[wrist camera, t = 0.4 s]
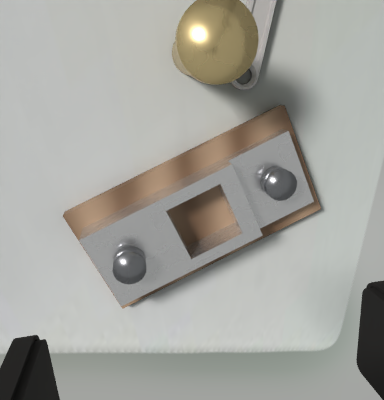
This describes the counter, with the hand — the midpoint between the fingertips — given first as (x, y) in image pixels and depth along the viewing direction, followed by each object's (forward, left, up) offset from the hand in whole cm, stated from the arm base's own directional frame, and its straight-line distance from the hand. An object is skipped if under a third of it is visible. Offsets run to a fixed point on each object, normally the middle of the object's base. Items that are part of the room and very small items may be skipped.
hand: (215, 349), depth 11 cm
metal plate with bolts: (-2, +6, -26) cm, 27 cm away
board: (-2, +6, -27) cm, 28 cm away
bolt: (-8, -8, -27) cm, 29 cm away
